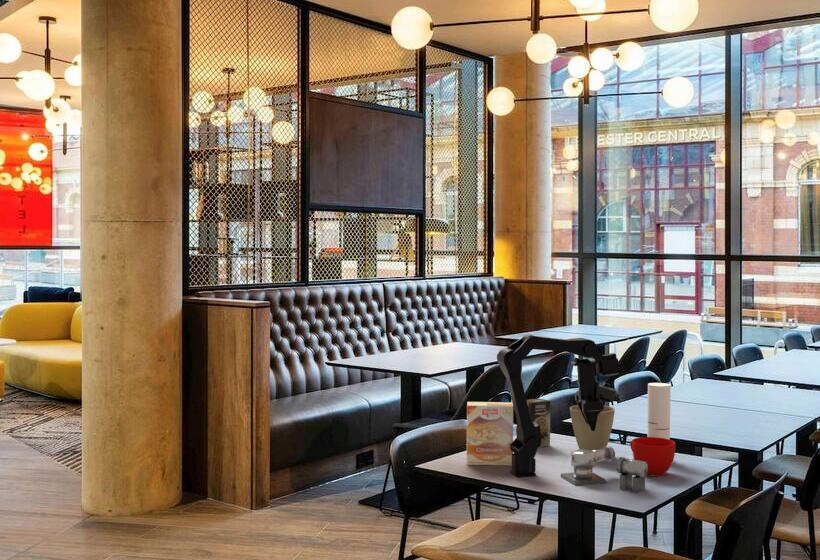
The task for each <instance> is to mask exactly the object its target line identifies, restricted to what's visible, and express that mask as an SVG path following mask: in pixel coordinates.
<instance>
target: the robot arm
mask: <svg viewBox="0 0 820 560" xmlns="http://www.w3.org/2000/svg"><path fill="white" fill-rule="evenodd" d="M533 349H541V350H549V351H559V352H564V353H565V352H566V353H570V354H573V355H576V356H579V357H583V358H581V359H580V358H579V357H576V356H574V359H572V360H571V362H570V363H569V364H570V365H571V366H574V367H576V370H577V381H576V383H577V385H578V390H577V391H576V392H575V393H574V399H575V401H576V405H578V407H579V409H580V411H581V413H582V415H583V417H584V419H585V421H586V424H589V426H590V429H591V431H595V428H596V423H597V417H598V414H599V413H600V412H602V411H603V410H604V406H605V404H604V402H603V401H602V399H601V398H603V399H608V400H609V401H613V402H614V400H615V397H616V394H617V389H615V388H612V387H611V385H610V383H609V382H603V383H602V384H600V383H599V381H598V380H597V374H598V375H599V376H600V377H607V376H616V375H620V373H621V364H620V360H619V359H618V357H617V353H614V352H612V353H608V354H602V352H600V351H599V349H598V346H597V344H596V342H595V341H594V340H592V339H588V338H585V337H573V338H566V339H563V338H556V337H555V338H554V337H548V336H547V337H546V336H540V335H533V334H529V333H527V334H525V335H523V336H522V337H520V339H518V340H516V341H515V342H513V343H511V344H510V345H509V346H507V347H506V348H504V347H503V348H501V349H500V350H499V351H498V353H497V354H496V360H497V361H496V362H497V363H498V365H499V367H500V371H502V372H501V373H503V375H504V377H505V378H506V381H507V385H508V389H509V393H510V394H509V395H510V396H511V397H510V398H511V402H512V404H513V411H514V415H515V418H516V427H515V428H516V429H515V432H516V438H515V439H513V442H512V443H511V444H510V449H511V451H512V452H513V453H512V466H511V469H510V470H509V473H511V474H512V475H513V476H515V477H533V476H534V477H535V476H537V473H536V458H535V457H536V455H537V451H538V449H539V448H541V447H540V445H541V443H542V442H541V438H543V437H542V435H541V432H540V426H539V425H538V424H536V423H534V422H532V420H531V416H530V412H529V408H528V404H527V400H528V399H527V396H526V392H525V388H524V384H523V380H522V372H523V371H522V370H523V362H522V361H523V360H524V359H525V358H527V357H528V355H529V354H530V352H532V351H533ZM590 359H593V360H590Z"/></svg>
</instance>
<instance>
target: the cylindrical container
mask: <svg viewBox="0 0 820 560" xmlns="http://www.w3.org/2000/svg"><path fill="white" fill-rule="evenodd" d="M646 428H647V432H646V433H647V434H646V435H647V436H646V437H657V438H665V439H669V440H671V439H670V438H671V384H669V383H664V382H649V383H647V426H646Z"/></svg>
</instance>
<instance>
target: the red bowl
mask: <svg viewBox="0 0 820 560" xmlns="http://www.w3.org/2000/svg"><path fill="white" fill-rule="evenodd" d="M629 443H630V444H629V446H630V449H631V452H632V456H633V460H638V461H644V462H646V463H647V465H648V471H647V474H646V476H649V475H651V476H650V477H661V476H664V475H665V474H666V473H667V472H668V471H669V470H670V468H671V467H672V465H673V463H674V459H675V455H676V454H675V453H676V442H675V441H673V440H671V439H670V440H669V439H665V438H657V437H647V436H641V437H636V438H633V439H632V440H631V441H630V442H629Z"/></svg>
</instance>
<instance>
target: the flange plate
mask: <svg viewBox="0 0 820 560" xmlns="http://www.w3.org/2000/svg"><path fill="white" fill-rule="evenodd" d="M593 468H594V467H593ZM593 468H576V467H573V472H562V473H560V477H561V478H562V479H564V480H565V479H566V481H567V482H569V483H570V484H572V485H574V486H581V485H584V484H586V485H595V483H599V484H606V483H607V480H606V479H605V478H604V477H603V476H600V475H599V474H596V473H594V472H593ZM584 486H585V485H584Z"/></svg>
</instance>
